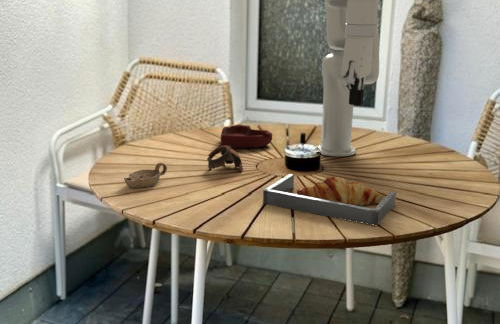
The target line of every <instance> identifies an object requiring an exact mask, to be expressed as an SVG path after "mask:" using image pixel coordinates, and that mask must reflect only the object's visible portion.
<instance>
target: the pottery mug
mask: <svg viewBox="0 0 500 324" xmlns="http://www.w3.org/2000/svg"><path fill="white" fill-rule="evenodd" d="M218 154H220V155H221V156H219V157H217V158H214V157H216V156H217V155H218ZM213 158H214V159H213ZM206 161H207V164H208V165H207V168H208V169H209V170H210V171H212V170H214V169H217V168H218V169H219V168H220V167H222V168H226V166H227V165H232V164H234V168H239V170H240V173H243V171H244V168H243V162H242V160H241V157H240V155H239V154H238V153H237V151H235V150H234V149H232V148H231V147H230V146H218V147H216V148H214V149H213V150H212V151H211V152H210V153H209V154H208V157H207V158H206Z"/></svg>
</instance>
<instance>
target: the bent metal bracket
mask: <svg viewBox="0 0 500 324" xmlns="http://www.w3.org/2000/svg"><path fill="white" fill-rule="evenodd" d="M294 179H295V174H293V173H289V174H287V175H285V176H284V177H282V178H281V179H279V180H277V181H276V182H273V183H272V184H271V185H269V186H267V187H266V188H264V189H263V190H262V191H263V192H262V193H263V194H262V195H263V197H262V204H263V205H268V206H274V207H279V208H283V209H289V210H293V211H297V212H298V211H299V212H303V213H308V212H309V214H312V213H314V214H313V215H317V214H319V215H318V216H322V215H325V216H324V217H327V216H330V217H329V218H332V217H336V218H335V219H337V218H342V219H346V220H345V221H347V220H351V221H350V222H352V221H355V222H354V223H357V222H363V223H368V224H374V225H377V224H378V223H379V222H380V221H381V219H382V218H383V217H384V216H385V215H386V214H387V213H388V212H389V211H390V210H391V211H392V209H393V208H394V207H396V200H397V199H396V198H397V192H396V191H390V192H389V193H388V194H387V195H386V196H385V197H383V199H382V200H381V201H380V202H378V203H377V205H376V206H375V208H370V207H366V206H365V207H364V206H355V205H350V204H345V203H339V202H334V201H329V200H323V199H318V198H313V197H308V196H302V195H297V193H291V192H289V191H290V190H291V189H293V188H294V183H295V182H294V181H295V180H294ZM391 211H390V212H391ZM390 212H389V213H390ZM389 213H388V214H389ZM388 214H387V215H388ZM387 215H386V216H387ZM386 216H385V217H386ZM385 217H384V218H385ZM384 218H383V219H384ZM342 219H341V220H342ZM356 221H357V222H356ZM381 222H382V221H381ZM381 222H380V223H381ZM380 223H379V224H380ZM379 224H378V225H379ZM378 225H377V226H378Z"/></svg>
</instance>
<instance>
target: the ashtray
mask: <svg viewBox="0 0 500 324" xmlns="http://www.w3.org/2000/svg"><path fill="white" fill-rule="evenodd" d="M272 140H273V133H272V132H271V131H269V130H267V129H253V128H251V126H250V125H246V124H245V125H244V124H234V125H231V126H224V127H223V128H222V130H221V134H220V145H221V146H230V147H231V148H232V149H233V150H234V149H250V148H267V147H268V145H269V144H270V143H271V142H272Z"/></svg>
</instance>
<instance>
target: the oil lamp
mask: <svg viewBox="0 0 500 324" xmlns="http://www.w3.org/2000/svg"><path fill="white" fill-rule="evenodd" d="M161 166H162V171H160V168H161ZM167 171H168V167H167V165H166V163H164V162H158V163H157V164H155V168H154V169H139V170H136V171H134V172H133V173H129V174H128V177H124V178H123V180H124V182H125V184H126V186H128V187H129V188H134V189H139V188H140V189H142V188H149V187H152V186H155V185H156V184H158V182H159V180H160V177H161V176H164V175H165V174H166V173H167Z"/></svg>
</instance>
